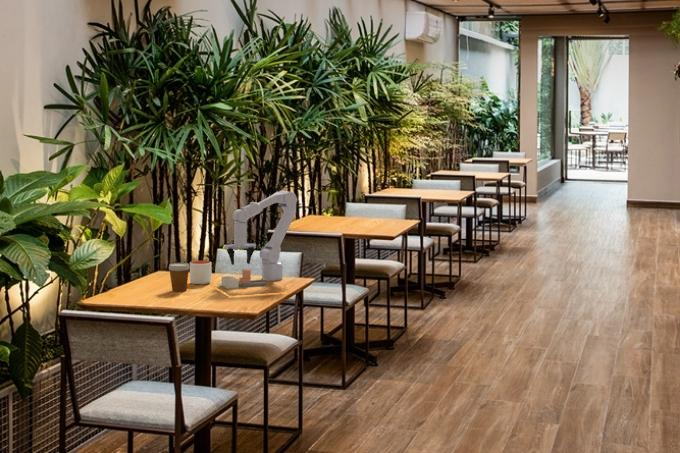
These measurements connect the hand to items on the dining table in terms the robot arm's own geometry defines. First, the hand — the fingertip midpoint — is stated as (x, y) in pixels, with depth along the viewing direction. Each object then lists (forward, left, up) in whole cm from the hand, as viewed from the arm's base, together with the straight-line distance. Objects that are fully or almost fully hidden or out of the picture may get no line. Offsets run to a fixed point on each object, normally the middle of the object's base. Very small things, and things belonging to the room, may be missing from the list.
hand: (240, 264), depth 475 cm
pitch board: (+2, +8, -9) cm, 12 cm away
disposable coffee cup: (+31, +7, -10) cm, 33 cm away
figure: (0, +10, -8) cm, 13 cm away
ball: (+6, +10, -6) cm, 14 cm away
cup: (+17, -8, -10) cm, 21 cm away
